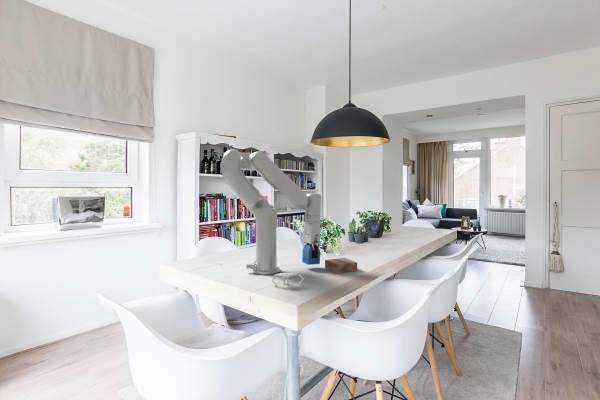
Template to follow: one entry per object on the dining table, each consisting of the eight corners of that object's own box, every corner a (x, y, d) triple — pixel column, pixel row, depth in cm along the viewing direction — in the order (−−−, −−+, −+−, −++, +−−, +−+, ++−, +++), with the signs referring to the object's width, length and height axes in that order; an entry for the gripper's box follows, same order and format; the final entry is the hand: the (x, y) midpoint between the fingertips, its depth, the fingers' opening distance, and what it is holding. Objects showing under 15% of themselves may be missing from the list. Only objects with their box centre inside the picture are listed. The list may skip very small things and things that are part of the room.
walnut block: (336, 273, 150) (336, 264, 150) (325, 268, 160) (325, 259, 160) (357, 270, 155) (357, 262, 155) (344, 265, 165) (344, 257, 165)
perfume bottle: (308, 264, 155) (309, 239, 154) (302, 262, 160) (303, 237, 160) (319, 263, 157) (320, 238, 157) (313, 261, 163) (314, 236, 163)
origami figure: (279, 291, 125) (279, 278, 125) (271, 285, 133) (271, 273, 132) (307, 287, 131) (307, 274, 130) (298, 281, 138) (298, 269, 138)
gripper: (298, 217, 164) (296, 253, 165) (313, 221, 149) (312, 260, 149) (311, 217, 168) (310, 252, 168) (328, 221, 152) (326, 259, 152)
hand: (311, 256), depth 159 cm, fingers closed on perfume bottle, 6 cm apart
